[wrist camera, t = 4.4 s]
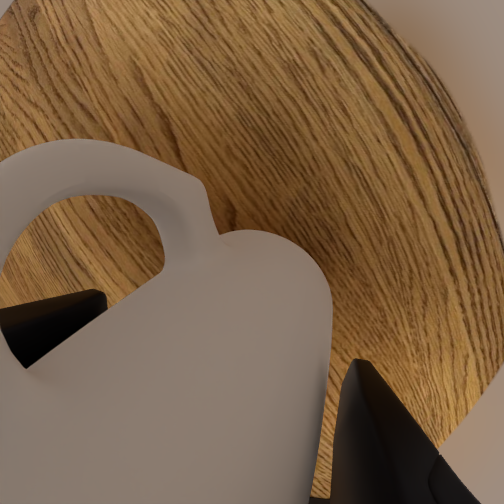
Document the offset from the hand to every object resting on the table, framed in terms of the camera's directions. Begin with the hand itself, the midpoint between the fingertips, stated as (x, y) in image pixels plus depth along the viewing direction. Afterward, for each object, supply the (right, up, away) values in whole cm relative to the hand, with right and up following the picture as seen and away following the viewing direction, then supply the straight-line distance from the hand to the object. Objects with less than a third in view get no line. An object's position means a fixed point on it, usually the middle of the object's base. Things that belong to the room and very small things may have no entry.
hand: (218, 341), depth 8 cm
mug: (+1, +2, +5) cm, 5 cm away
